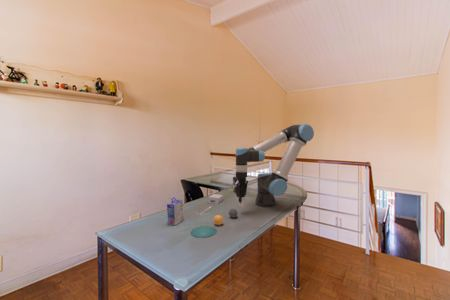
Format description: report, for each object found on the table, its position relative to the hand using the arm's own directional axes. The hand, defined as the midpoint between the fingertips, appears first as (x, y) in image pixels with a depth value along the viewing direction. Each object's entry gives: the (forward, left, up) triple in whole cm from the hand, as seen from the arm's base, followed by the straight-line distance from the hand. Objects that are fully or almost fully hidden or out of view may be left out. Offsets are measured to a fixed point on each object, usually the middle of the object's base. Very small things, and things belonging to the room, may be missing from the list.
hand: (241, 206), depth 145 cm
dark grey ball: (+6, +7, -2) cm, 9 cm away
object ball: (+16, +16, -2) cm, 23 cm away
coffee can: (-6, -53, -5) cm, 54 cm away
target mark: (+25, +25, -5) cm, 35 cm away
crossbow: (+24, -8, -5) cm, 25 cm away
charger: (+14, -32, -5) cm, 35 cm away
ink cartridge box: (+42, +9, -5) cm, 43 cm away
